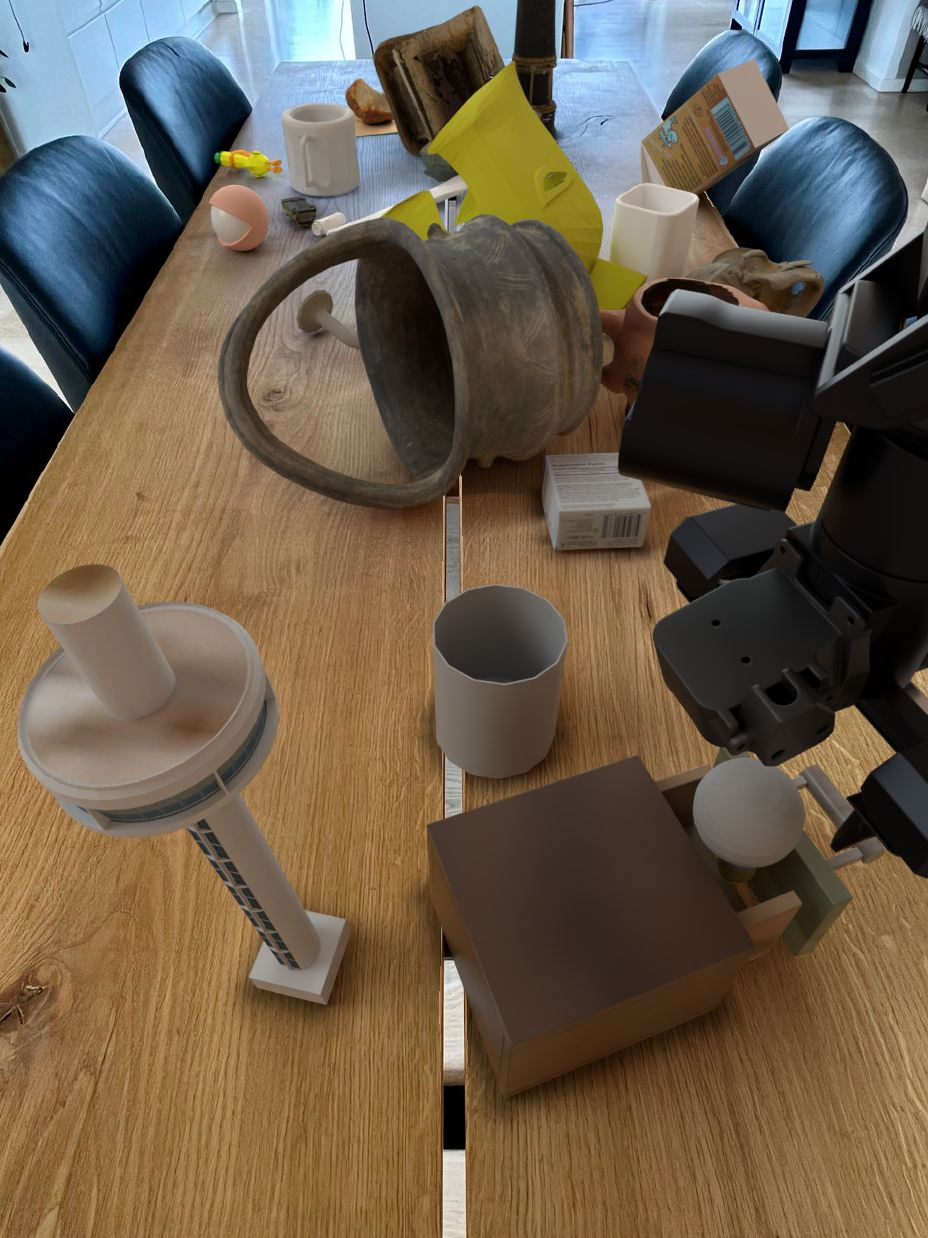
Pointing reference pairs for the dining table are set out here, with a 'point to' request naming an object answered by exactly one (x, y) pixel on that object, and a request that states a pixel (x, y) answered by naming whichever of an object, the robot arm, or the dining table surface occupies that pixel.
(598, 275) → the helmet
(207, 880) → the dining table surface
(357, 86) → the bread chunk
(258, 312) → the ancient clay pot
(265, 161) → the toy figure
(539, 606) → the cup
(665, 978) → the cabinet
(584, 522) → the box
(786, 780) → the light bulb
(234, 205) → the toy ball
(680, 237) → the cup
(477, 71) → the brown square vessel
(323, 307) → the toilet paper hanger
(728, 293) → the decorative planter
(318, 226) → the small white plastic part
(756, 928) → the drawer
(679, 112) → the milk carton
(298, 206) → the dark green crate
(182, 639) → the model tower
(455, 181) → the spatula
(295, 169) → the mug
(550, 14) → the black tall cylinder
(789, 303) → the skull
